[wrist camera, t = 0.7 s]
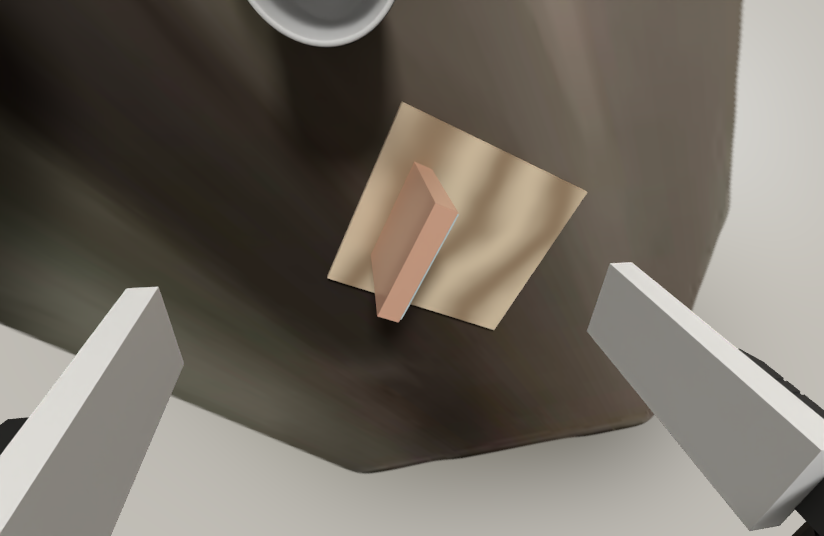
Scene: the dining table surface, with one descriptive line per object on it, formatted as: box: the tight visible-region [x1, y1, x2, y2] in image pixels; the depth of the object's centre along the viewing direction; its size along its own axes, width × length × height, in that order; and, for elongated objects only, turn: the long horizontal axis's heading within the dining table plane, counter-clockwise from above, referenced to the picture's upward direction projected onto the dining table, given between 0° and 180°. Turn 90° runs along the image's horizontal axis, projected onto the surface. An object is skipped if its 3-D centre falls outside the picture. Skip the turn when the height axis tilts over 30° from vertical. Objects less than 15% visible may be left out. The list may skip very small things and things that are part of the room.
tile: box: [371, 162, 459, 322], centre depth 34 cm, size 2×10×10 cm, turn 154°
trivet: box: [327, 101, 587, 330], centre depth 41 cm, size 20×18×1 cm
